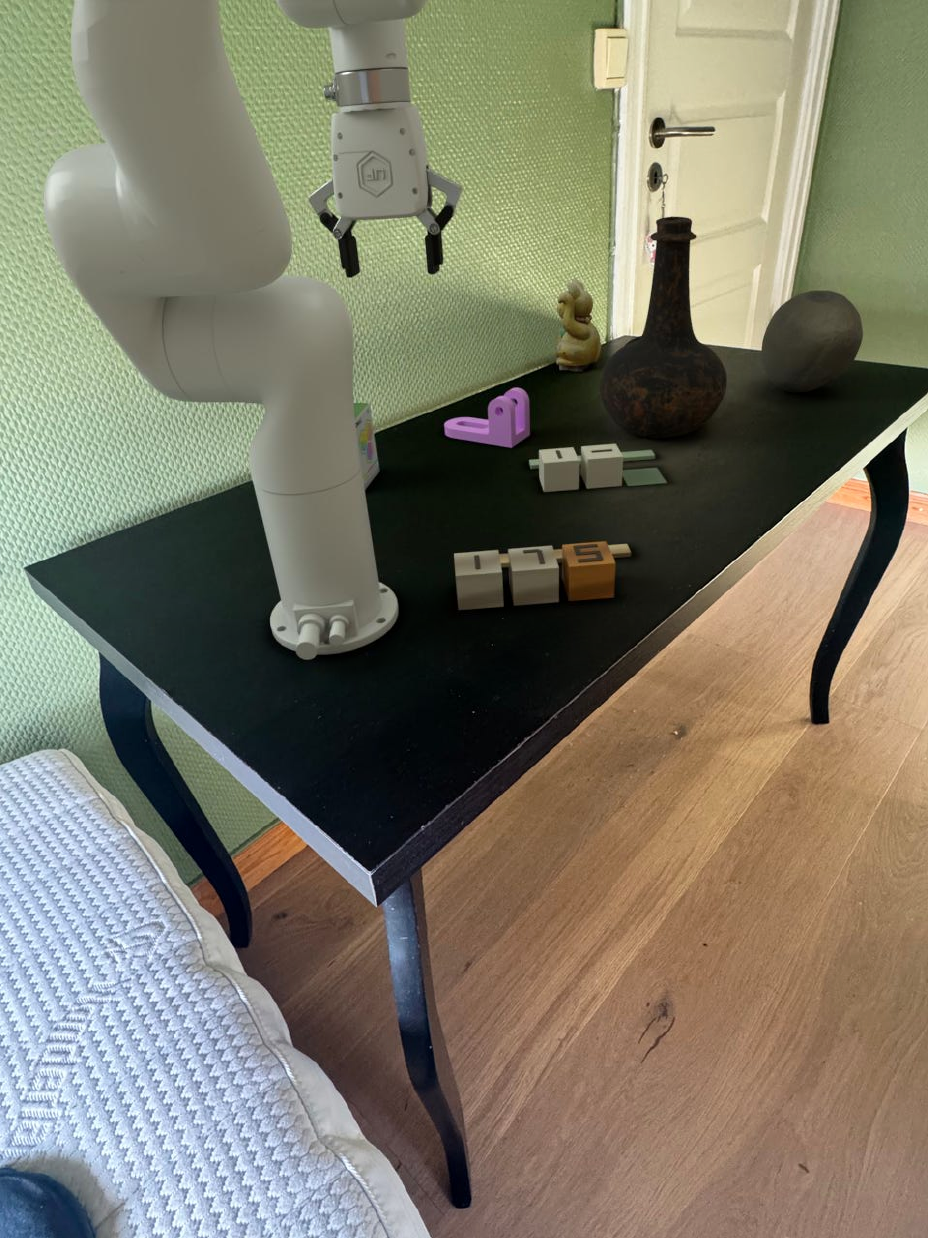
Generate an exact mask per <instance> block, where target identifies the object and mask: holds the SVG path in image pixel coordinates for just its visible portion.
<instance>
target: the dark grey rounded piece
mask: <svg viewBox="0 0 928 1238" xmlns="http://www.w3.org/2000/svg"><path fill="white" fill-rule="evenodd" d="M863 337H864V330H863V322H862V318H861V314H860V313H859V310H857V308H856V306H855V305H854V304H853V303H852V301H851V300H849V299H848V298H847V297H846V296H844V295H843V294H841V293H839V292H835V291H832V290H808V291H805V292H801V293H799V294H798V293H797V294H796V295H794V296H792V297H791V298H790V299H788V300H786V301H785V302H784V303H782V305H781V306H780V307H779V308H778V309H777V310H776V311H775V312H774V313H773V315H772V316H771V318H770V320H769V323H768V324H767V326H766V328H765V331H764V335H763V337H762V341H761V351H760V352H761V353H760V355H761V361H762V366H763V369H764V371H765V374H766V375H767V378H768V379H769V380H770V382H771V383H772V384H773V385H774V386H775V387H776V388H777V389H780V390H782V391H784V392H788V393H806V392H810V391H814V390H816V389H819V388H821V387H824V386H825V385H827V384H829V383H831V382H832V381H834V380H836V379H837V378H838V377H840V376H841V375H843V373H844V372H846V370H848V368H850V366H851V365H852V364H853V362H854V361H855V359H856V357H857V355H858V353H859V350H860V348H861V346H862V342H863Z"/></svg>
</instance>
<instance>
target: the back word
mask: <svg viewBox="0 0 928 1238" xmlns="http://www.w3.org/2000/svg"><path fill="white" fill-rule="evenodd" d="M655 459H656V454H655V453H654V451H653V450H652V449H645V450H634V451H621V450H620V449H619V446H618V445H617V443H606V444H605V443H604V444H595V445H594V444H593V445H583V446H581V447H580V455H578V454H577V453H576V450H575V448H574V446H571V447H558V448H547V449H539V450H538V458H537V459H535V458H533V459H529V460H528V465H529V468H530V470H538V473H539V474H538V475H539V476H538V477H539V482H540V485H541V487H542V491H543V492H544V493H551V492H552V493H553V492H563V491H576V490H579V489H580V476H581V479H582V481H583V483H584V486H585V488H586V489H587V490H589V489H603V488H611V487H612V488H613V487H614V488H615V487H622V486H623V481H624V482H625V483H626V486H627V487H637V486H649V485H661V484H663V485H664V484H667V483H668V482H667V480H666V479H665V477H664V476H663V474H662V473H661V471H660V470H659V469H658V467H649V468H647V467H646V468H636V469H625V470H623V468H624V467H623V466H624V462H636V461H637V462H638V461H647V460H655Z"/></svg>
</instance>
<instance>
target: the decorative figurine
mask: <svg viewBox="0 0 928 1238" xmlns="http://www.w3.org/2000/svg"><path fill="white" fill-rule="evenodd" d="M566 286H567V289H568V290H565V291H564V292H562V293H561V294H559V295H558V297H557V304H556V312H557V314H558V316H559V317H560V319H562V327H561V328H560V329H559V334H558V336H557V342H556V350H555V353H556V354H555V355H556V360H555V361H556V362H555V363H556V365H557V366H558V368H559V371H570V372H581V373H582V372H584V370H585V369H586V368H588V367H589V366H590V364H593V363H597V362H598V360H599V359H600V356H601V352H602V342H601V336H600V333H599V330H598V328H597V327H596V326H595V324H594V323H593V322H592V320H593V316H592V315H591V313H592V312H593V309H594V299H593V297H592V295H591V294H590V293H589V292H588V291H586V290H585V286H584V285H583V283H582V282H580V281H579V280H578V279H577V278H572V279H571V281H567V282H566Z"/></svg>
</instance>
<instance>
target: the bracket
mask: <svg viewBox="0 0 928 1238" xmlns="http://www.w3.org/2000/svg"><path fill="white" fill-rule="evenodd" d="M529 397H530V396H529V395H528V393H527V392H526V390H524V389H523V388H521V387H512V388H510V389H509V390H507V391H505V393H504V394H503V395H499V396H497V397H496V398H494V399H492V400H491V401H490V402H489V403H488V406H487V416H488V417H487V419H484V418H477V417H470V416H459V417H454V418H451V419H448V420H446V421H445V422H444V424H443V427H444V435H445V436H446V437H448V438H451V439H457V440H461V441H469V442H474V443H479V444H487V445H493V446H499V447H504V448H510V449H512V448H514V447H515V446H516V445H518V444H519V443H521V442H522V441H524V440H525V439H526V438H528V437H529V436H531V421H530V420H531V419H530V418H531V417H530V398H529ZM515 401H516V402H517V403H516V402H515Z"/></svg>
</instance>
